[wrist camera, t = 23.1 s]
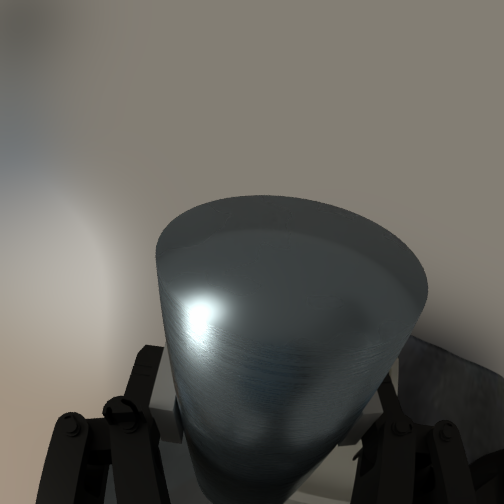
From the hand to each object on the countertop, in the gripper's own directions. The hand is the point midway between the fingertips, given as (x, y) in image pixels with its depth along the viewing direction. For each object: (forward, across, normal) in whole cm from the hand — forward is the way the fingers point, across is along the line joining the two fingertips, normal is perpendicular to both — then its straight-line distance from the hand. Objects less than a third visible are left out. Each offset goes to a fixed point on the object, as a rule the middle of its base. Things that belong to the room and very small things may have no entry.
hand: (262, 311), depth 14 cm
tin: (-5, 0, -8) cm, 10 cm away
